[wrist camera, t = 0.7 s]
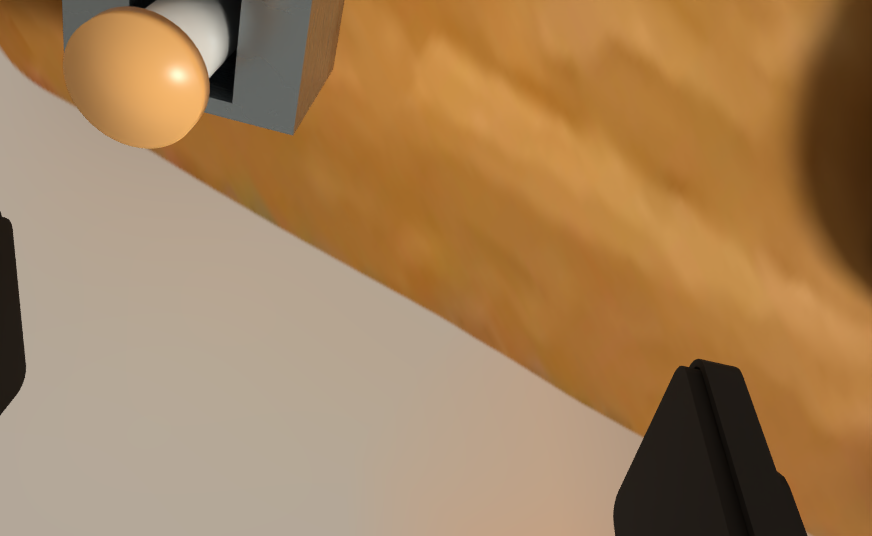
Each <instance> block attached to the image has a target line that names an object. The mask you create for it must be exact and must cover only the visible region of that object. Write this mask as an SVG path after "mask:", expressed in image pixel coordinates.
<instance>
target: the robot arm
mask: <svg viewBox="0 0 872 536" xmlns="http://www.w3.org/2000/svg"><path fill="white" fill-rule="evenodd" d="M25 373H26V363H25V353H24V342H23V331H22V321H21V311H20V301H19V291H18V280H17V269H16V259H15V249H14V240H13V229H12V224H11V222H10V220H9V219H7V218H5V217H2V216H1V212H0V415H1V413H2V412H3V411H4V410H5V409H6V407H7V406H8V405H9V404H10V402H11V401H12V399H14V397H15V396H16V395H17V393H18V392H19V390H20V388H21V386H22V384H23V381H24V378H25ZM613 518H614V529H615V536H807V533H806V531H805V528H804V525H803V522H802V520H801V517H800V514H799V511H798V509H797V506H796V503H795V501H794V498H793V495H792V492H791V490H790V487H789V485H788V483H787V481H786V479H785V477H784V476H782V475H781V474H780V473H779V472H777V471H776V468H775V465H774V462H773V460H772V457H771V454H770V451H769V448H768V445H767V443H766V440H765V437H764V434H763V431H762V429H761V426H760V423H759V420H758V417H757V414H756V412H755V409H754V406H753V403H752V400H751V398H750V395H749V392H748V389H747V386H746V384H745V381H744V378H743V375H742V373H741V371H740V369H738V368H737V367H734V366H729V365H724V364H720V363H715V362H711V361H706V360H702V359H696V360H694V361H693V362H692V363H691V365H690V366H689V367H685V366H679V367H678V368H677V370H676V371H675V373H674V375H673V377H672V379H671V381H670V383H669V385H668V388H667V390H666V392H665V394H664V396H663V398H662V400H661V402H660V405H659V407H658V409H657V411H656V413H655V415H654V417H653V419H652V422H651V424H650V426H649V428H648V430H647V432H646V434H645V436H644V438H643V441H642V443H641V445H640V447H639V449H638V451H637V453H636V455H635V458H634V460H633V462H632V464H631V466H630V468H629V470H628V472H627V475H626V477H625V479H624V481H623V483H622V485H621V487H620V489H619V491H618V494H617V496H616V501H615V505H614V515H613Z"/></svg>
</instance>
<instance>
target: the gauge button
mask: <svg viewBox="0 0 872 536" xmlns="http://www.w3.org/2000/svg"><path fill="white" fill-rule="evenodd" d="M241 3H242V2H241V1H240V0H156V1H155V2H153V3H152V4H151V5H149V6H148V7H146V8H145V9H144V8H139V7H131V6H123V7H115V8H111V9H108V10H105V11H103V12H101V13H99V14H98V15H96V16H94V17H93V18H91V19H90V20H88V21H87V22H85V23H84V24H82V25H81V26H80V27H79V28H78V29H77V30H76V31H75V32H74V33H73V34H72V36H71V37H70V39H69V41H68V43H67V46H66V48H65V52H64V58H63V71H64V78H65V82H66V86H67V88H68V91H69V93H70V95H71V98H72V100H73V101H74V103H75V105H76V106H77V108H78V109H79V111H80V112H81V113H82V114H83V116H84V117H85V118H86V119H87V120H88V121H89V122H90V123H91V124H92V125H93V126H95V127H96V128H97V129H98V130H99V131H101V132H102V133H104V134H105V135H107V136H109V137H110V138H112V139H114V140H116V141H118V142H120V143H123V144H126V145H129V146H133V147H138V148H160V147H165V146H168V145H171V144H173V143H175V142H177V141H179V140H180V139H181V138H183V137H184V136H185V135H186V134H187V133H188V132H189V131H190V130H191V129H192V127H193V126H194V125H195V124H196V123H197V122H198V120H199V119H200V118H201V116H202V115H203V113H204V111H205V109H206V107H207V103H208V100H209V93H210V82H209V78H210V77H211V76H212V74H213V73H214V72H215V71H216V70H217V69H218V68H219V67H220V66H221V65H222V64H223V63H224V62H225V61H226V59H227V58H228V57H229V56H230V55H231V54H232V53H233V52H234V51H235V50H236V49H237V47H238V36H239V25H240V14H241Z"/></svg>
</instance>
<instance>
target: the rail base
mask: <svg viewBox="0 0 872 536" xmlns="http://www.w3.org/2000/svg"><path fill="white" fill-rule="evenodd" d="M155 1H156V0H62V8H63V36H64V52H65V48H66V46H67V43H68V41H69V39H70V37H71V36H72V34H73V33H74V32H75V31H76V30H77V29H78V28H79V27H80V26H81V25H82V24H84V23H85V22H87V21H88V20H90V19H91V18H93V17H94V16H96V15H98V14H99V13H101V12H103V11H105V10H108V9H111V8H115V7H123V6H131V7H139V8H144V9H145V8H146V7H148V6H149V5H151V4H152V3H153V2H155ZM240 1H241V2H242V3H241V14H240V25H239V36H238V47H237V49H236V50H235V51H234V52H233V53H232V54H231V55H230V56H229V57H228V58H227V59H226V61H225V62H224V63H223V64H222V65H221V66H220V67H219V68H218V69H217V70H216V71H215V72H214V73H213V74H212V76H211V77H210V78H209V82H210V93H209V100H208V103H207V107H206V109H205V111H204V112H205V113H209V114H213V115H217V116H221V117H225V118H228V119H232V120H236V121H240V122H244V123H248V124H251V125H255V126H259V127H263V128H267V129H271V130H274V131H278V132H282V133H286V134H290V135H294V133H295V131H296V130H297V128H298V126H299V125H300V123H301V121H302V120H303V118H304V116H305V115H306V113H307V111H308V110H309V108H310V106H311V105H312V103H313V102H314V100H315V98H316V97H317V95H318V93H319V92H320V90H321V88H322V87H323V85H324V83H325V82H326V80H327V78H328V77H329V75H330V73H331V72H332V70H333V65H334V59H335V53H336V47H337V41H338V35H339V29H340V23H341V17H342V11H343V5H344V0H240Z"/></svg>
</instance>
